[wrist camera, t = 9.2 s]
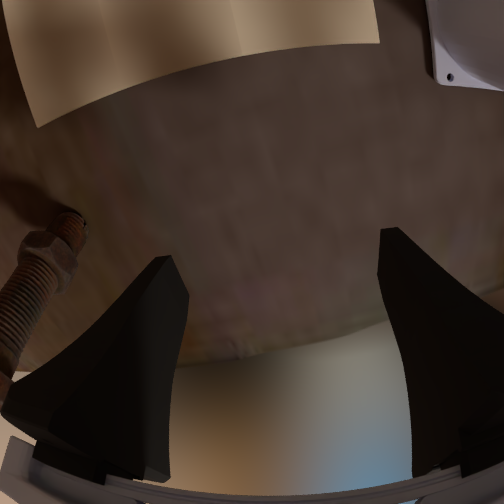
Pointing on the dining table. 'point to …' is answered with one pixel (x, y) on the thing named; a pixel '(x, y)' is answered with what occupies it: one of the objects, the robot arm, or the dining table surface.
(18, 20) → the birch block
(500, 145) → the dining table surface
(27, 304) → the bolt
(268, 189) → the dining table surface
